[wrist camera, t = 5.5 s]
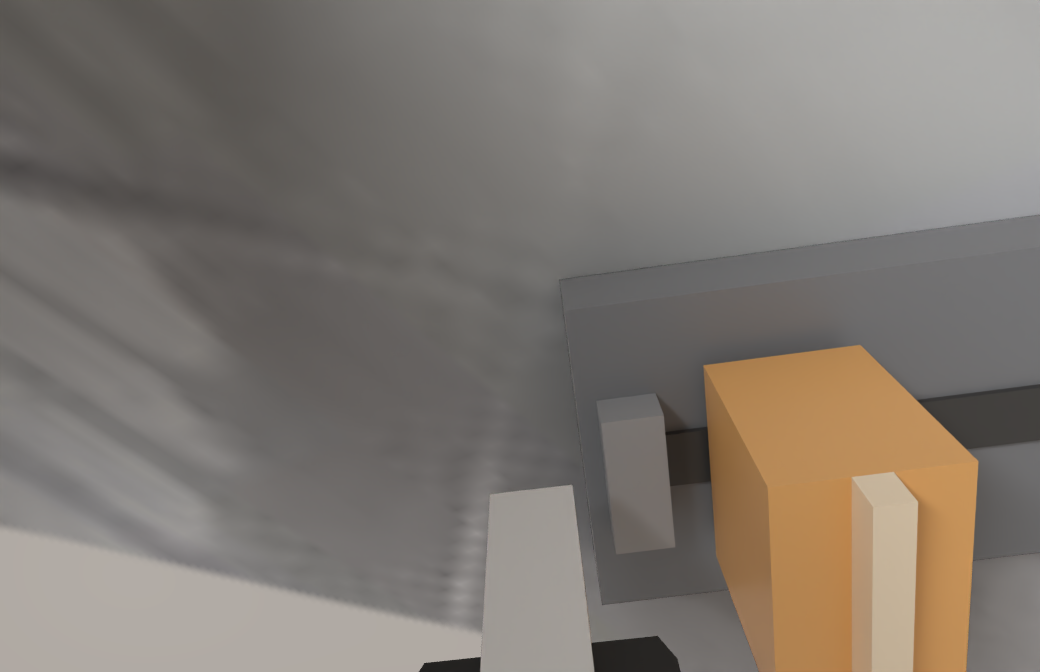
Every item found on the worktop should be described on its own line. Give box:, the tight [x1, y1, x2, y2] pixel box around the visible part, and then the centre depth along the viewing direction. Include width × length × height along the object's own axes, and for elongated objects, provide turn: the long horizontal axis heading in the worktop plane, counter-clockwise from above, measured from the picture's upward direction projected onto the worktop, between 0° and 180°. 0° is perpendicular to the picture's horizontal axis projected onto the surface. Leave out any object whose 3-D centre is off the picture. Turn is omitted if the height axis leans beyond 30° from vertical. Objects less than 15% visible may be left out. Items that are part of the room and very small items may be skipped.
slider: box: [703, 345, 978, 672], centre depth 15 cm, size 3×4×5 cm
